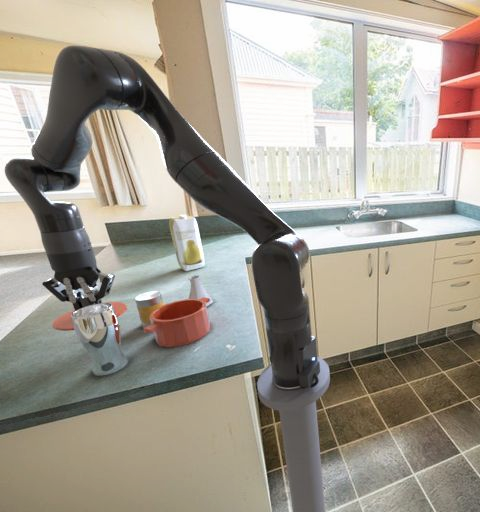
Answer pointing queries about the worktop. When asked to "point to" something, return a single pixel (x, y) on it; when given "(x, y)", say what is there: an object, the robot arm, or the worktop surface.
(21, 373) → the worktop surface
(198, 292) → the flask
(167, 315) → the pot
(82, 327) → the silver metal cup
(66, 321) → the lid
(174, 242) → the juice carton
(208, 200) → the robot arm
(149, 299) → the can
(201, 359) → the worktop surface
